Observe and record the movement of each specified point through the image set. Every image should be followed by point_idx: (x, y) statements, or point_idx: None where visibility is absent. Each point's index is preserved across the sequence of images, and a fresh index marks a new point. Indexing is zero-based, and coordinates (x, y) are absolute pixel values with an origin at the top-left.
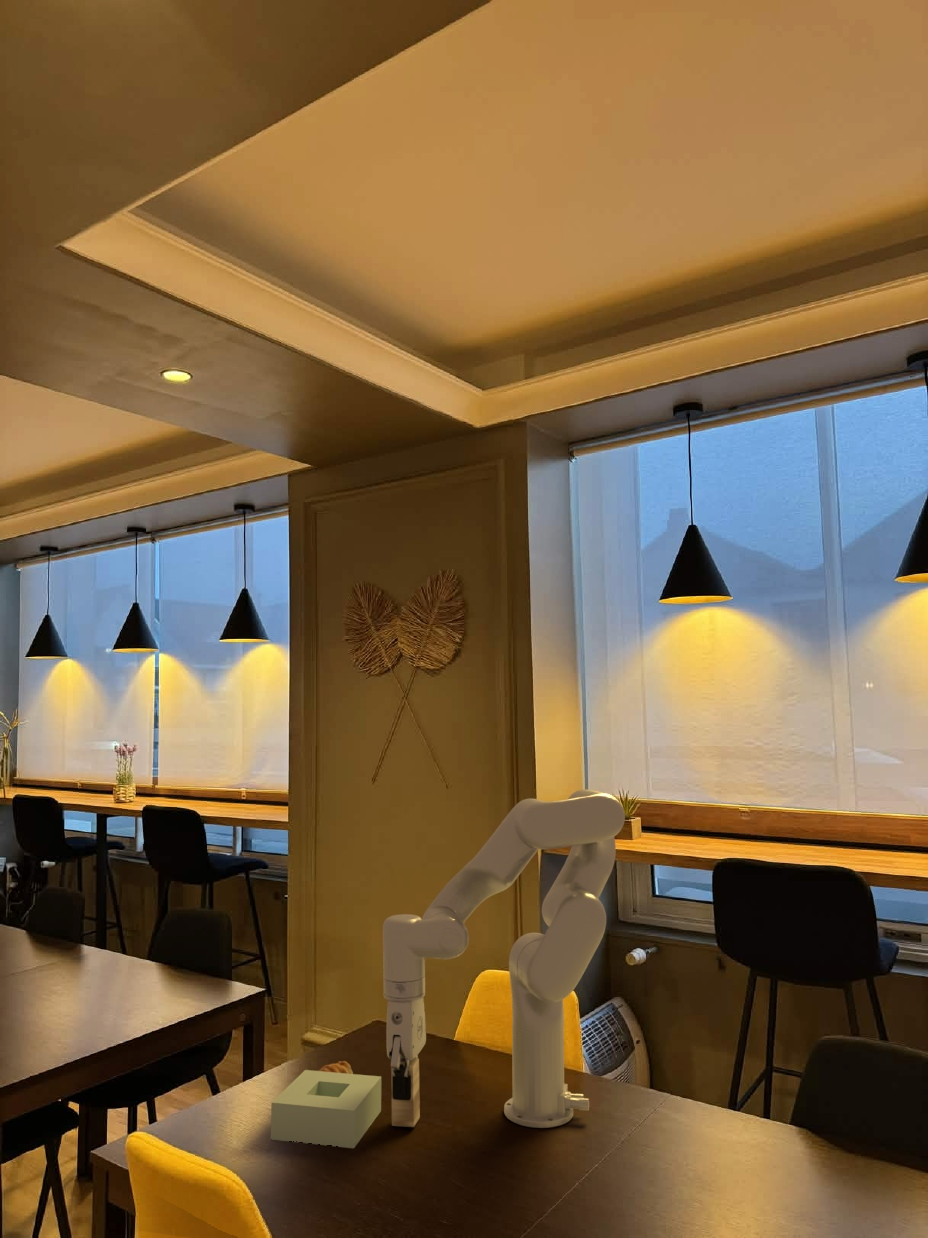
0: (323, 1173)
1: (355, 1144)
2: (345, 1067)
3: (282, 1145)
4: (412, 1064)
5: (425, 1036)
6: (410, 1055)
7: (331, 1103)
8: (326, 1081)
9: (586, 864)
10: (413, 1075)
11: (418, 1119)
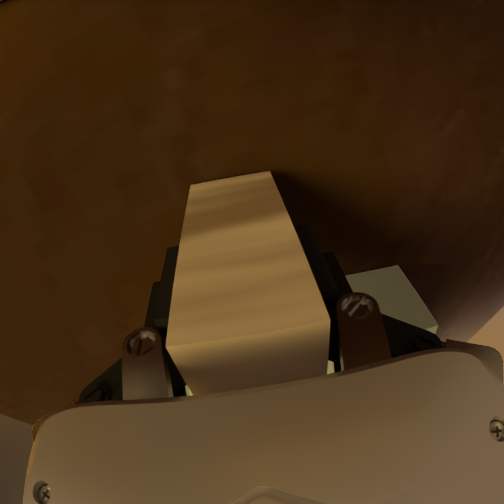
0: (479, 263)
1: (388, 269)
2: None
3: None
4: (282, 341)
5: (50, 452)
6: (496, 374)
7: None
8: None
9: None
10: (303, 283)
11: (208, 182)
